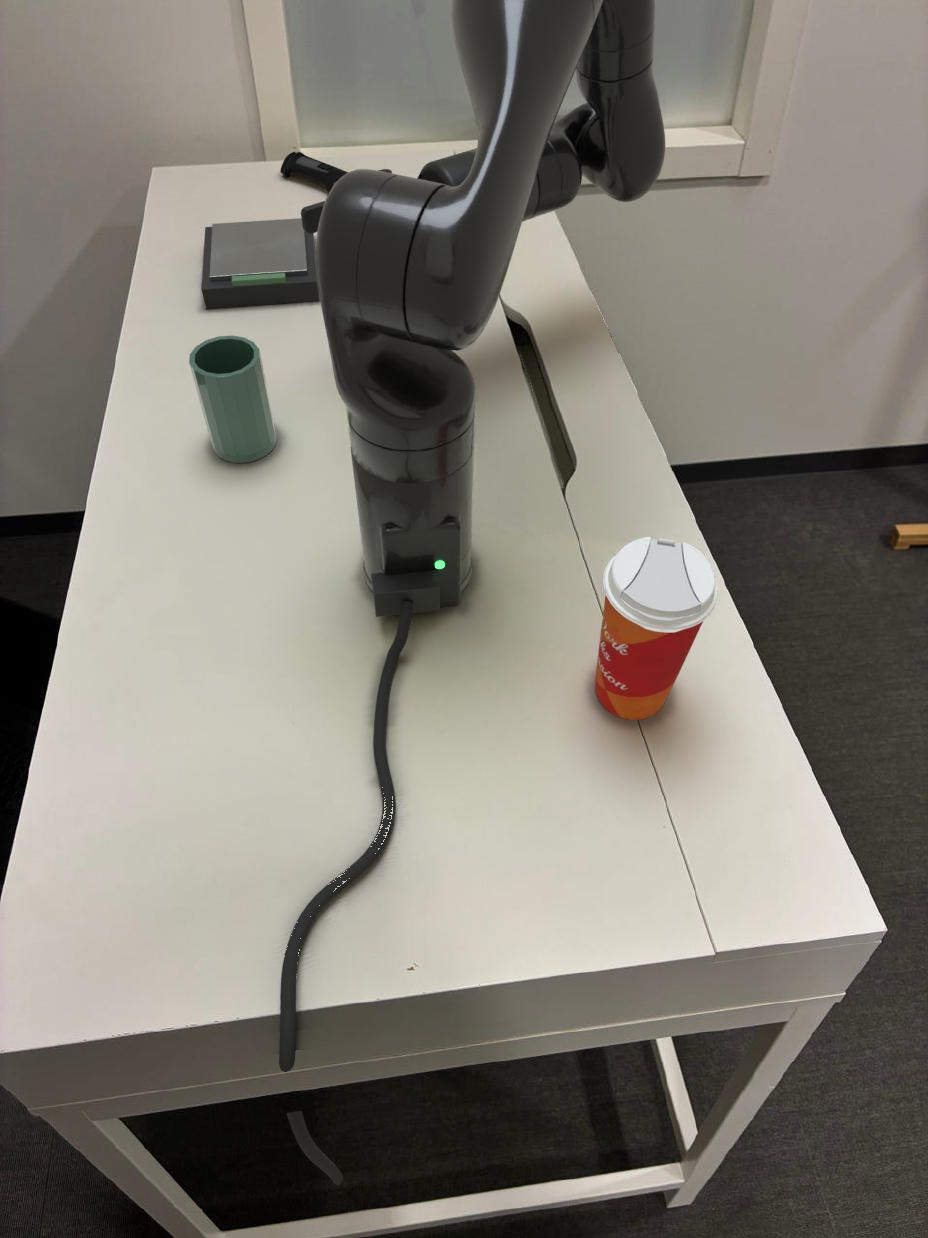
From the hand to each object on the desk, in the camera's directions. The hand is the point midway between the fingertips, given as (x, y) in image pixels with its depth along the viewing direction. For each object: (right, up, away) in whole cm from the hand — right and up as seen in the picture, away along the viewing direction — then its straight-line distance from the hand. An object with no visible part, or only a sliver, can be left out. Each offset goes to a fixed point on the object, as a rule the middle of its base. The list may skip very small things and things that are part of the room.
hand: (325, 242), depth 77 cm
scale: (-12, +9, +29) cm, 32 cm away
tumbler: (-10, -16, +10) cm, 21 cm away
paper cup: (+25, -39, -8) cm, 47 cm away
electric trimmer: (-6, +26, +43) cm, 50 cm away
